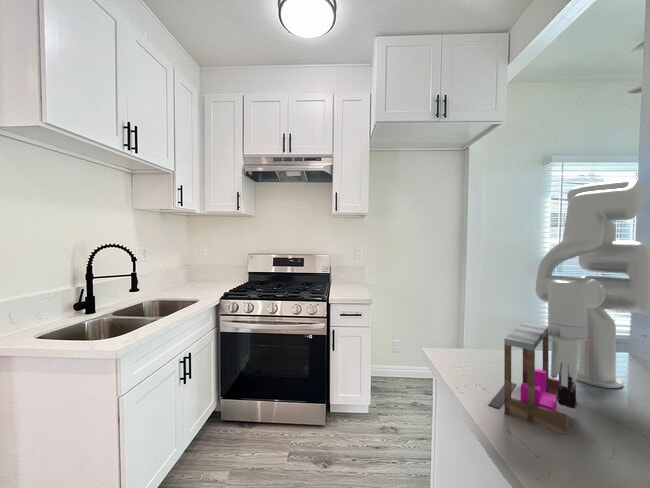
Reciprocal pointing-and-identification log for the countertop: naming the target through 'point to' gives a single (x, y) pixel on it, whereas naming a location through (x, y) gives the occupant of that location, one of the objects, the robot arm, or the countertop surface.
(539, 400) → the toy block
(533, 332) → the tunnel
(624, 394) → the countertop surface
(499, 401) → the dark grey flat bar
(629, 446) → the countertop surface
